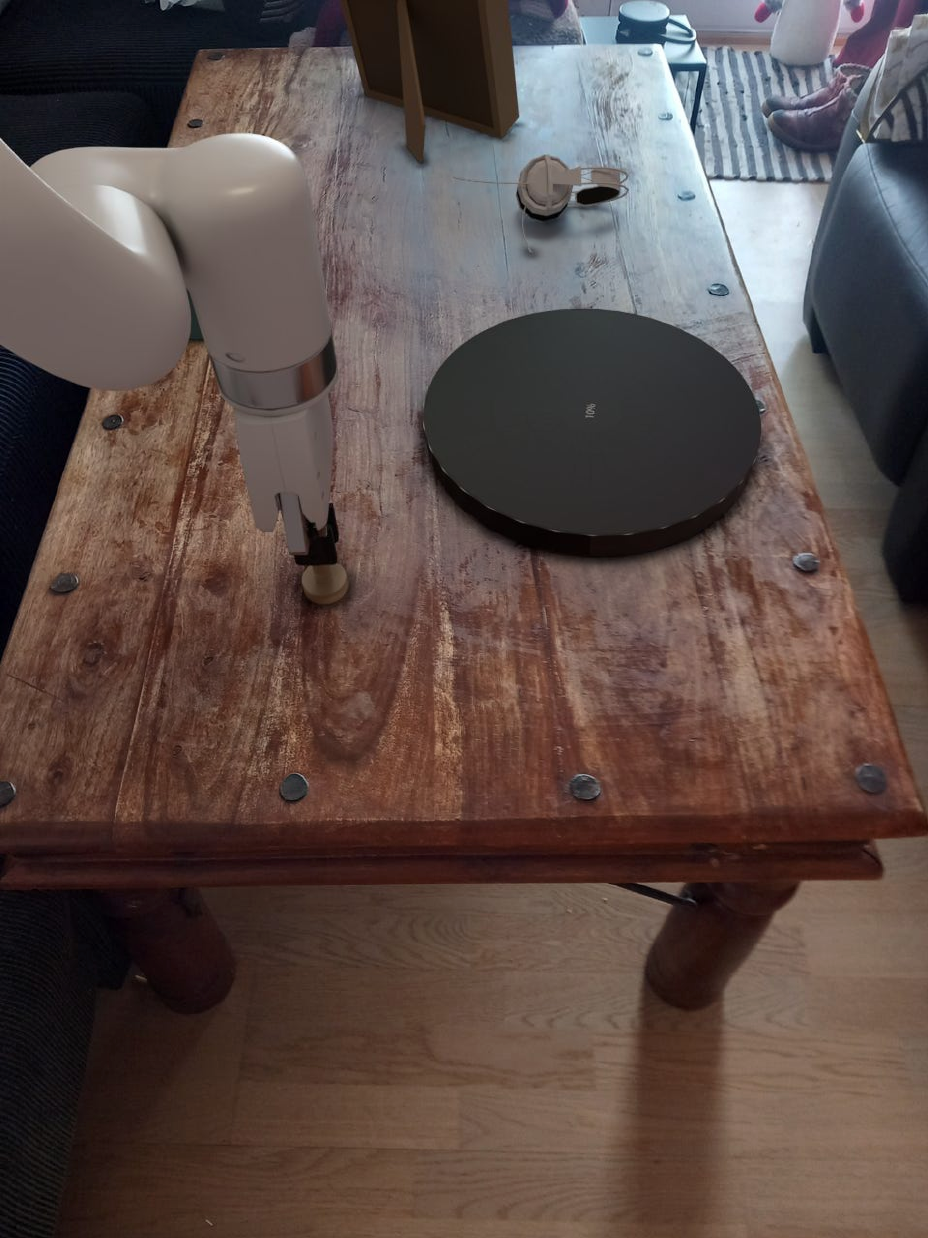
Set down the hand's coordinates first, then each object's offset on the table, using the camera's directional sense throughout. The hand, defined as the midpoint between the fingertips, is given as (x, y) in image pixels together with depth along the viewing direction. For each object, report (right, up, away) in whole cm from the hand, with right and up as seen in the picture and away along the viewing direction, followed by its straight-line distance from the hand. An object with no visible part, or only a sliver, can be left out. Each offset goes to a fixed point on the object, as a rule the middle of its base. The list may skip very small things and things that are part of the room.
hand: (317, 550), depth 71 cm
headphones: (+20, +39, +34) cm, 55 cm away
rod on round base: (0, -3, +4) cm, 5 cm away
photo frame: (+5, +58, +48) cm, 75 cm away
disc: (+23, +12, +14) cm, 29 cm away
